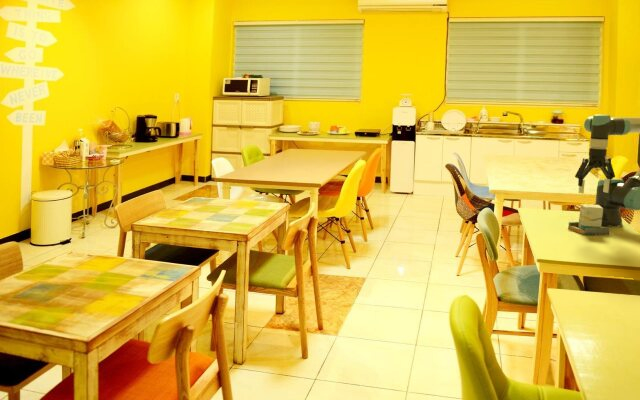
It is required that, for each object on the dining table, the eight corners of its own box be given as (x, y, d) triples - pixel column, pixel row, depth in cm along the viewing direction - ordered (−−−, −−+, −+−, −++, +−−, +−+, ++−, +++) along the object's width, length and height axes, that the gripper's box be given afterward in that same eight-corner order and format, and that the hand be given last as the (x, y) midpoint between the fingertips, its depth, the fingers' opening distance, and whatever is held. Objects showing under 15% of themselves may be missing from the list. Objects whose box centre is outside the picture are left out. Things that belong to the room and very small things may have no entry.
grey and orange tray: (591, 228, 308) (591, 221, 307) (609, 234, 296) (610, 227, 295) (568, 229, 305) (568, 222, 304) (585, 235, 292) (586, 228, 292)
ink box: (601, 232, 295) (603, 207, 293) (582, 231, 296) (584, 206, 294) (596, 228, 303) (598, 204, 301) (577, 226, 305) (580, 203, 302)
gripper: (615, 146, 299) (610, 190, 303) (570, 147, 293) (565, 191, 297) (626, 148, 292) (621, 193, 296) (580, 149, 286) (575, 194, 290)
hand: (593, 192), depth 297 cm, fingers open, 13 cm apart
